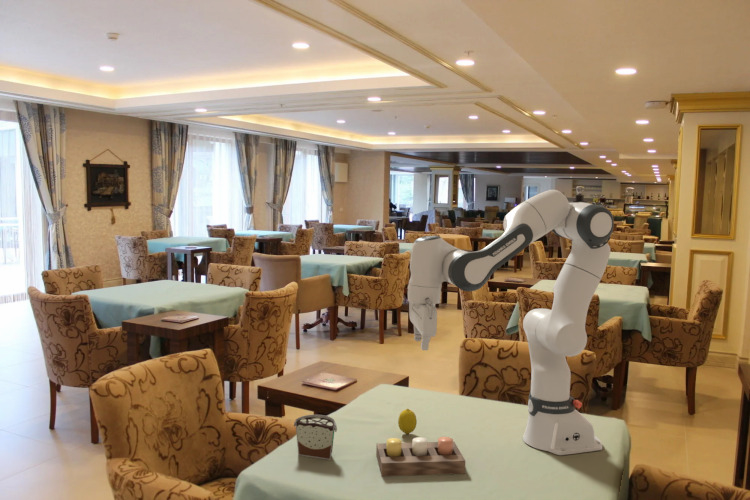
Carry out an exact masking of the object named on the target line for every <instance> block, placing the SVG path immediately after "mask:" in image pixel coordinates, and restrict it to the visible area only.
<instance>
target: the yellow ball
mask: <svg viewBox="0 0 750 500" xmlns="http://www.w3.org/2000/svg"><path fill="white" fill-rule="evenodd" d="M386 443H387V450H386V454H387V455H388V456H390V457H398V456H400V455H401V449H402V443H403V441H402V439H400V438H396V437H390V438H387V439H386Z"/></svg>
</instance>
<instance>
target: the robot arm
mask: <svg viewBox="0 0 750 500" xmlns="http://www.w3.org/2000/svg"><path fill="white" fill-rule="evenodd" d="M502 223H503V226H502V227H503V231H504V232H503V233H502V234H501V235H500V236H499V237H498V238H496V239H495V240H493V241H492V242H490V243H489V244H488V245H487V246H485V247H484V248H482V249H479V250H476V251H466V250H463V249H460V248H458V247H455V246H454V245H452V244H451V243H449V242H447V241H446V240H445V239H443V238H442V237H441V236H439V235H426V236H422V237H421V236H420V237H419V238H416V239H415V240H414V242H413V243H412V248H411V253H410V263H409V271H410V278H409V280H408V288H407V292H406V293H407V294H406V295H407V301H408V315H409V316H408V317H409V321H410V322H411V323H412V325H413V334H414V337H413V338H414V341H415V342H420V349H421V350H422V351H428V350H429V348H430V347H429V346H430V345H429V344H430V341H431V338H433V337H436V336H437V335H436V334H437V329H438V328H437V327H438V310H437V307H436V305H437V304H440V303H441V293H442V284H443V283H444V282H447V283H449V284H450V285H453V286H455V287H457V288H458V289H460V290H461V291H464V292H475V291H477V290H480V289H481V288H483V287H484V285H486V283H487V282H488V280H489V279H490V278H491V276H492V275H493V274H494V272H496V271H497V270H498V269H499V268H500V267H502V266H503V265H504V264H506V263H507V262H508V261H510V260H511V259H512V258H514V257H515V256H517V255H518V254H519V253H521V252H522V251H524V250H525V249H526V248H527V247H528V246H529V245H530V244H532V243H534V242H536V241H537V240H539V239H540V238H542V237H544V236H545V235H546V234H548V233H550V232H552V233H554V234H555V235H556V236H558V237H560V238H565V239H569V240H571V249H570V253H569V254H568V257H567V258H566V260H565V262H564V263H563V265H562V267H561V269H560V272H559V274H558V275H557V278H556V280H555V282H554V284H553V288H552V291H553V301H552V307H551V309H549V308H541V307H540V308H533V309H531V310H529V311H528V312H527V313H526V314H525V316H524V317H523V320H522V327H523V331H524V333H525V335H526V340H527V344H528V345H527V346H528V351H529V359H530V366H531V367H530V368H531V373H530V374H531V375H530V376H531V377H530V379H531V380H530V391H529V393H528V402H527V403H528V404H527V407H528V417H527V422H526V426H525V430H524V433H523V436H522V440H523V441H524V443H525V444H527V445H528V446H531V447H532V448H534V449H537V450H540V451H545V452H549V453H552V454H554V455H556V456H557V455H558V456H567V455H573V454H580V453H588V452H596V451H602V450H603V443H602V441H601V440H600V439H599V438H598V437H597V436H596V435H595V431H594V427H593V426H594V425H593V424H592V423H591V422H590V421H589V420H588V418H586V416H584V415H583V414H582V413H580V412H579V411H578V410H577V409H581V408H582V406H583V403H582V402H581V401H580V400H579V399H575V398H574V397H573V396H571V393H570V390H571V379H572V378H571V369H570V366H569V365H568V362H567V359H566V357H569V358H570V357H572V358H573V357H576V356H578V355H580V354H581V353H582V352H583V351H584V350H585V348H586V346H587V344H588V343H587V342H588V334H587V331H586V322H587V315H588V311H589V308H590V304H591V302H592V300H593V297H594V295H595V293H596V291H597V289H598V287H599V284H600V283H601V280H602V278H603V275H604V273H605V271H606V268H607V265H608V263H609V259H610V256H611V246H610V245H609V243H608V242H610V240H611V236H612V233H613V231H614V226H615V225H614V224H615V220H614V215H613V213H612V212H611V210H609V209H608V208H606V207H605V206H604V205H600V204H595V203H590V202H585V201H584V202H583V201H579V202H576V201H575V202H570V201H569V200H568V198H567V196H566V195H564V194H563V192H561V191H560V190H558V189H548V190H545V191H543V192H540V193H538V194H536V195H533V196H531V197H529V198H528V199H526V200H523V201H522V202H520V203H519V204H518V205H516V206H515V207H513V208H512V209H511V210H510V211H509V212H507V213H506V215H504V218H503V221H502Z"/></svg>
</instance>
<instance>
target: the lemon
mask: <svg viewBox="0 0 750 500" xmlns="http://www.w3.org/2000/svg"><path fill="white" fill-rule="evenodd" d="M417 421H418V420H417V416H416V414H415V412H414V411H413V410H411V409H410V408H406V409H403V410H402V411H401V412H400V413H399V416H398V422H397V423H398V427H399V430H400V432H402V433H405V435H409V434H410V433H412V432H414V431H415V429H416V428H417V424H418V423H417Z"/></svg>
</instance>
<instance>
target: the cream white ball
mask: <svg viewBox="0 0 750 500" xmlns="http://www.w3.org/2000/svg"><path fill="white" fill-rule="evenodd" d="M427 442H428V439H427V438H425V437H421V436H420V437H419V436H417V437H413V438H412V442H411V443H412V454H413V455H416V456H425V455H427Z"/></svg>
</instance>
